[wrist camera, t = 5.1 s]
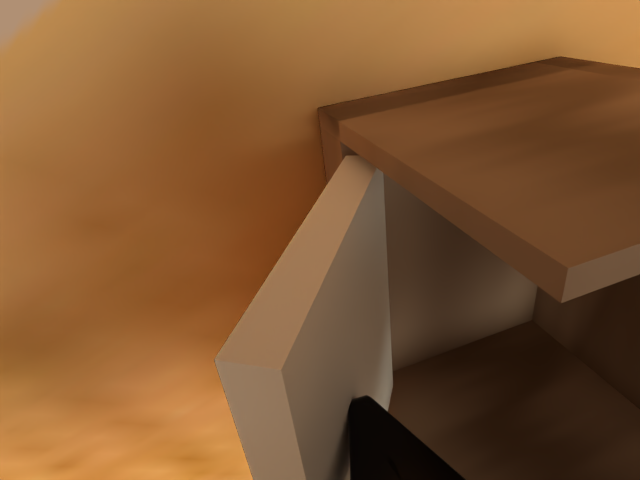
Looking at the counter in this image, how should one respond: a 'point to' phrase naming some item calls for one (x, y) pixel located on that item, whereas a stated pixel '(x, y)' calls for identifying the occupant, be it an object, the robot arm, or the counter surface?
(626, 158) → the open wooden box
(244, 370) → the cabinet door
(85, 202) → the counter surface
